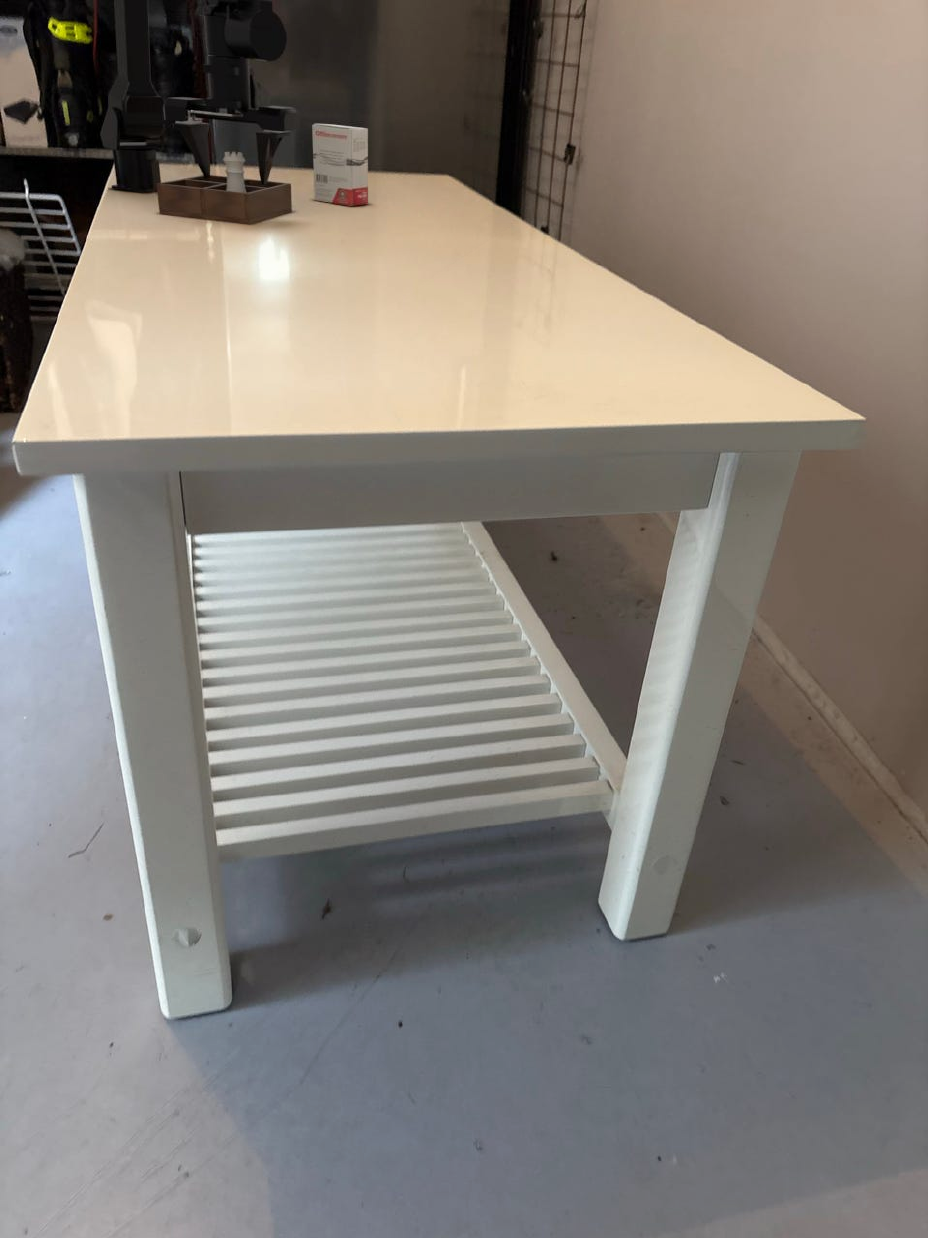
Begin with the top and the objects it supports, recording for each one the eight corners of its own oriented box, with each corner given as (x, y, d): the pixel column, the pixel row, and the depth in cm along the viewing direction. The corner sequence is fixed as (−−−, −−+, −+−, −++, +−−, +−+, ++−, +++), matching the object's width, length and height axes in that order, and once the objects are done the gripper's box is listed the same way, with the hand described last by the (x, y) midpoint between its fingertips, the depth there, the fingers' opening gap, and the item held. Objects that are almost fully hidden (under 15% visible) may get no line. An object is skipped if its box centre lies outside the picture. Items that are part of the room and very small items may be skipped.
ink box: (369, 204, 156) (370, 127, 150) (352, 206, 152) (351, 127, 146) (330, 197, 160) (329, 122, 153) (312, 199, 156) (310, 122, 150)
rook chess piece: (249, 215, 134) (245, 155, 130) (219, 213, 134) (214, 152, 130) (255, 210, 138) (252, 152, 133) (226, 208, 138) (222, 149, 133)
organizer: (159, 213, 135) (156, 183, 133) (208, 201, 147) (206, 174, 145) (249, 224, 132) (248, 193, 130) (292, 211, 144) (291, 183, 142)
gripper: (313, 62, 130) (315, 181, 138) (196, 52, 133) (205, 169, 142) (280, 61, 121) (285, 189, 129) (155, 51, 124) (167, 176, 133)
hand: (235, 180), depth 133 cm, fingers open, 9 cm apart
